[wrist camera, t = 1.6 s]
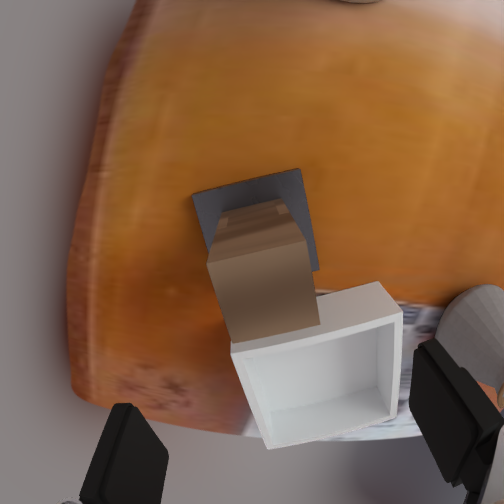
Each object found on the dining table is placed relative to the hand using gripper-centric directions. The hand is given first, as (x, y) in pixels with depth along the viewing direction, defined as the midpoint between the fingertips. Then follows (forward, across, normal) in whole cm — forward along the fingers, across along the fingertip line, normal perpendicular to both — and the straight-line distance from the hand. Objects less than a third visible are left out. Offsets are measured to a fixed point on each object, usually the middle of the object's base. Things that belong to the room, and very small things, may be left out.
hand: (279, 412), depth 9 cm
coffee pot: (+20, -26, +19) cm, 38 cm away
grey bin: (+20, -3, +15) cm, 25 cm away
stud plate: (+20, 0, 0) cm, 20 cm away
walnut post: (+19, 0, 0) cm, 19 cm away
